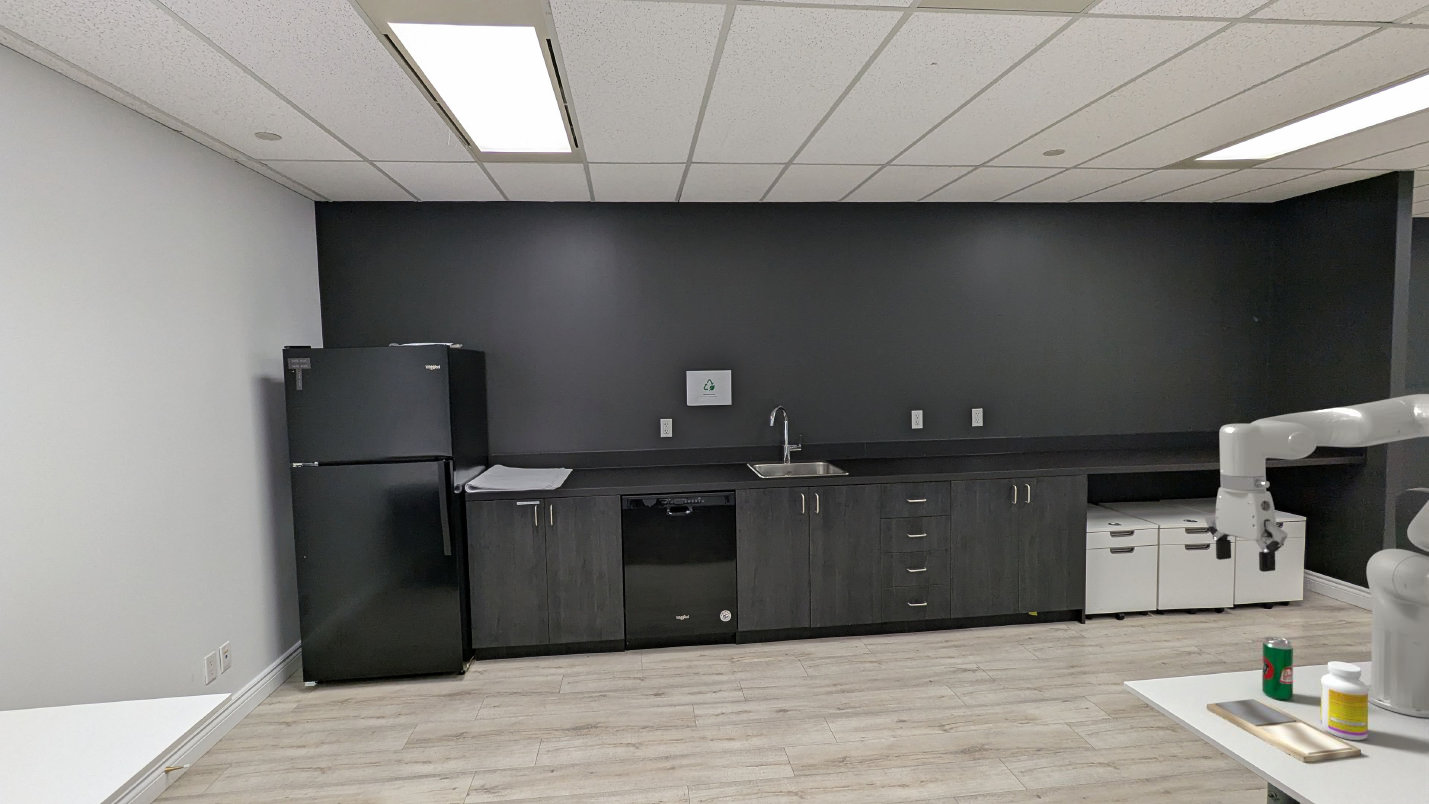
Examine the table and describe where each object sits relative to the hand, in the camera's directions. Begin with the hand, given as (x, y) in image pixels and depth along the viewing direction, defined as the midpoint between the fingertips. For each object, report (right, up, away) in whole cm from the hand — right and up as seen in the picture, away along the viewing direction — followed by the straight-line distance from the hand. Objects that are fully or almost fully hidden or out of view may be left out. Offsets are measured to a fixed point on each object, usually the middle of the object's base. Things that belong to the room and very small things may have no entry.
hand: (1244, 564), depth 145 cm
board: (-2, -29, -12) cm, 31 cm away
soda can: (+9, -29, +2) cm, 30 cm away
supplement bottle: (+9, -29, -13) cm, 33 cm away
